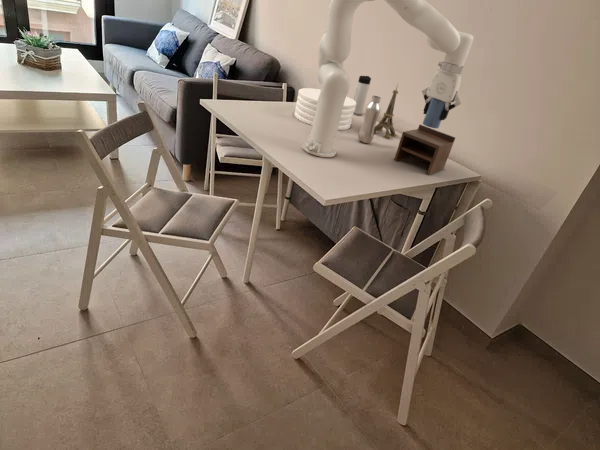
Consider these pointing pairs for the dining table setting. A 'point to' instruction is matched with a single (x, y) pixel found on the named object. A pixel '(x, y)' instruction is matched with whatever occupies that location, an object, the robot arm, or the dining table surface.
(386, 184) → the dining table surface
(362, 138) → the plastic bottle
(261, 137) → the dining table surface
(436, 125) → the jug
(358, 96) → the travel mug
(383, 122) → the eiffel tower
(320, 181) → the dining table surface
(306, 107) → the plate stack
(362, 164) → the dining table surface
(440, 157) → the shelf stand
